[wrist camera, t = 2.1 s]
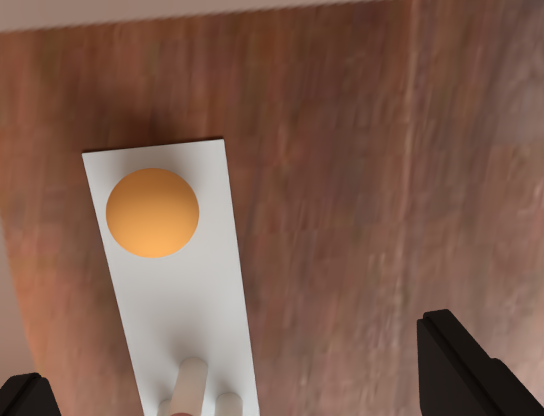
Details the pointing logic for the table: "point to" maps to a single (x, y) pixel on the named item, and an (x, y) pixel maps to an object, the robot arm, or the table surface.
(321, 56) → the table surface
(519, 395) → the robot arm
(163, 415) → the pin
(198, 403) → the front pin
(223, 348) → the plate
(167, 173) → the ball
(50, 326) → the table surface
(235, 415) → the pin
